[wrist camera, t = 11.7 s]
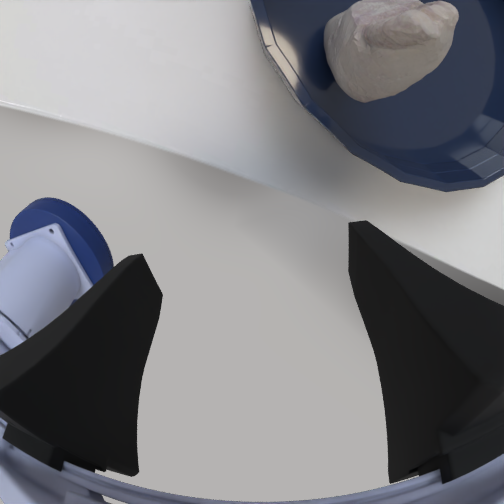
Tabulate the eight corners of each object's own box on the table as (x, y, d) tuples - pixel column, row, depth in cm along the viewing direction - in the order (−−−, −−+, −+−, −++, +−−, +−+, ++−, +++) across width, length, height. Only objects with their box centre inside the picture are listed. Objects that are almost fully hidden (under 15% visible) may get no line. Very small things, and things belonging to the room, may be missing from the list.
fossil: (345, 100, 15) (431, 138, 7) (294, 72, 14) (336, 68, 6) (385, 31, 12) (494, 16, 3) (337, 1, 11) (413, -57, 3)
